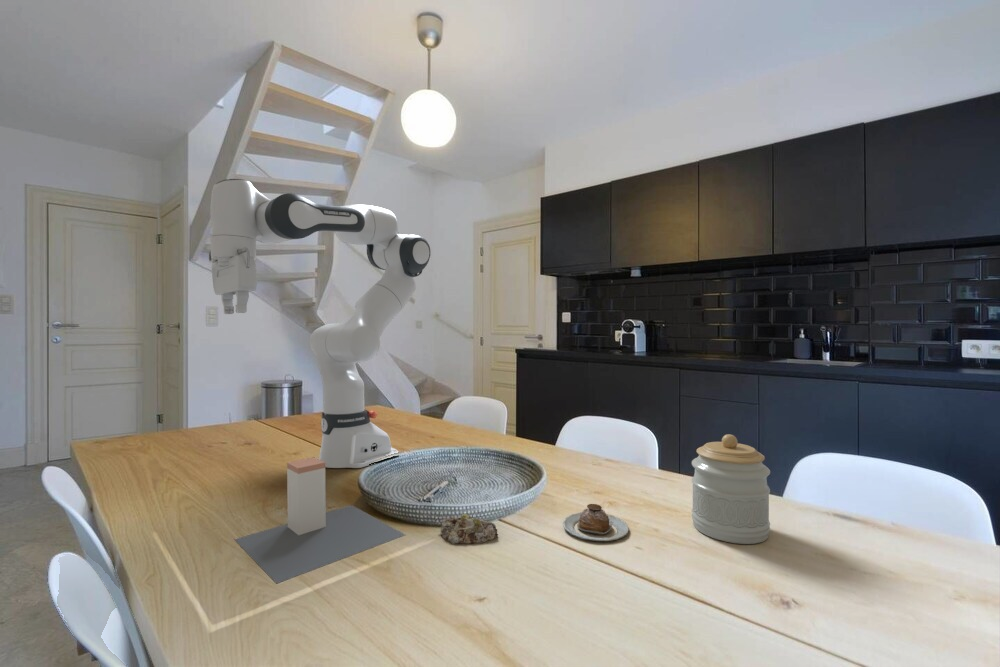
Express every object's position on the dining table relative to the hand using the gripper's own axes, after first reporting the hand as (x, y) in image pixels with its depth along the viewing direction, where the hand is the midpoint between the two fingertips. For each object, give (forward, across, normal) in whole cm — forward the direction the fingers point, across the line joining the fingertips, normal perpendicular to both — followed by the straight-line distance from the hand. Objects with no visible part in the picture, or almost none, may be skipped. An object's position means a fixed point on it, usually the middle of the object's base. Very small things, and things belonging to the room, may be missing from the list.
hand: (234, 313), depth 104 cm
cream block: (+40, -30, -4) cm, 50 cm away
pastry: (+42, -67, -42) cm, 90 cm away
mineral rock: (+42, -52, -24) cm, 71 cm away
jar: (+42, -85, -60) cm, 112 cm away
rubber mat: (+41, -36, -4) cm, 54 cm away
